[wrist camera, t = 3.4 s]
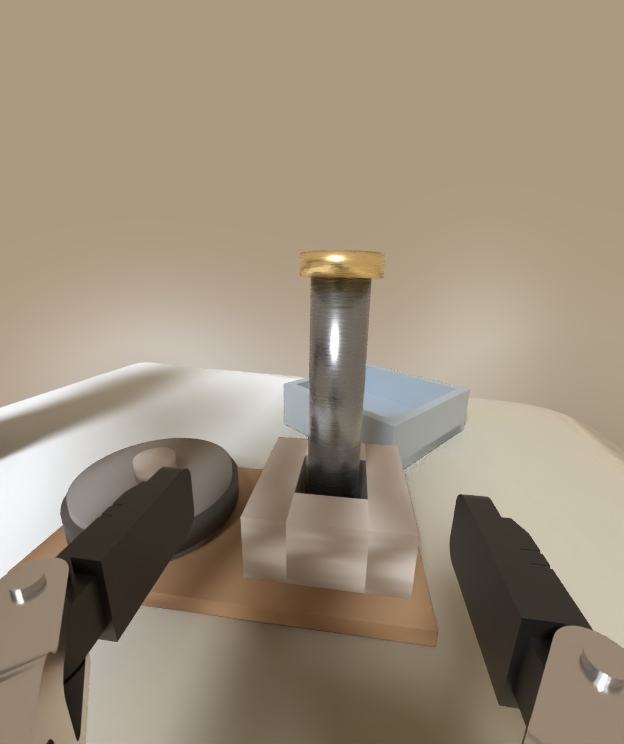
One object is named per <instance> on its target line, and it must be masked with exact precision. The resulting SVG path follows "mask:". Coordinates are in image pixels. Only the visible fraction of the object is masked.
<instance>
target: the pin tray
mask: <svg viewBox="0 0 624 744" xmlns="http://www.w3.org/2000/svg"><path fill="white" fill-rule="evenodd" d="M469 391H470V389H467V388H464V387H459V386H455V385H451V384H447V383H443V382H439V381H435V380H431V379H427V378H423V377H419V376H415V375H411V374H407V373H403V372H399V371H395V370H391V369H387V368H383V367H379V366H375V365H371V364H367V363H366V371H365V387H364V402H363V418H362V433H361V443H364V444H377V445H391V446H398V450H399V454H400V458H401V463H402V467H403V469H405V468H406V467H408V466H409V465H411V464H412V463H414V462H415V461H417V460H418V459H420V458H421V457H423V456H424V455H426V454H427V453H429V452H430V451H432V450H433V449H435V448H436V447H438V446H439V445H441V444H442V443H444V442H445V441H447V440H448V439H450V438H451V437H453V436H454V435H456V434H457V433H459V432H460V431H462V430H463V429H464V423H465V417H466V411H467V404H468V398H469ZM284 424H286V425H288V426H290V427H292V428H294V429H296V430H298V431H299V432H301V433H303V434H305V435H307V436H308V426H309V378H305V379H301V380H297V381H293V382H289V383H285V384H284Z"/></svg>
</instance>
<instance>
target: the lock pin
mask: <svg viewBox="0 0 624 744" xmlns="http://www.w3.org/2000/svg"><path fill="white" fill-rule="evenodd" d="M384 259H385V253H381V252H371V251H347V250H344V251H341V250H323V251H304V252H300V277H311V301H310V363H309V426H308V489H307V494H314V495H324V496H335V497H345V498H356V499H357V495H358V480H359V464H360V449H361V433H362V418H363V402H364V387H365V371H366V356H367V340H368V325H369V309H370V294H371V293H370V292H371V278H383V274H384V261H385V260H384Z"/></svg>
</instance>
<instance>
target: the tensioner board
mask: <svg viewBox="0 0 624 744" xmlns="http://www.w3.org/2000/svg"><path fill="white" fill-rule="evenodd" d="M164 466H166V467H177V468H187V469H189V471H190V473H191V480H192V491H193V501H194V519H193V523H192V526H191V529H190V531H189V533H188V534H187V536H186V537H185V539H184V540H183V542H182V543H181V545H180V546H179V548H178V550H177V551H176V553H175V554H174V556H173V557H172V559H171V560H170V562H169V563H168V565H167V566H166V568H165V569H164V571H163V573H162V574H161V576H160V577H159V579H158V580H157V582H156V583H155V585H154V586H153V588H152V589H151V591H150V592H149V594H148V595H147V597H146V599H145V600H144V602H143V603H142V605H145V606H152V607H159V608H166V609H173V610H180V611H187V612H194V613H201V614H208V615H215V616H222V617H229V618H237V619H244V620H251V621H258V622H265V623H272V624H279V625H286V626H293V627H300V628H307V629H314V630H321V631H328V632H335V633H342V634H349V635H356V636H363V637H370V638H377V639H384V640H391V641H398V642H405V643H412V644H419V645H426V646H433V647H435V646H436V640H437V634H438V630H437V625H436V621H435V617H434V612H433V608H432V604H431V599H430V595H429V591H428V586H427V582H426V578H425V573H424V569H423V565H422V560H421V556H420V552H419V547H418V543H419V532H418V528H417V524H416V520H415V516H414V512H413V508H412V503H411V499H410V495H409V491H408V487H407V483H406V479H405V475H404V471H403V467H402V463H401V458H400V454H399V450H398V446H391V445H377V444H364V443H361V449H360V464H359V480H358V495H357V499H356V498H345V497H335V496H324V495H314V494H307V489H308V439H298V438H285V437H279V438H278V440H277V442H276V444H275V446H274V448H273V450H272V452H271V455H270V457H269V459H268V461H267V463H266V465H265V467H264V469H263V470H261V469H249V468H238V467H237V465H236V463H235V461H234V460H233V459H232V458H231V457H230V456H229V454H228V453H227V452H226V451H225V450H224V449H223V448H222V447H220V446H218V445H216V444H214V443H212V442H208V441H205V440H199V439H191V438H172V439H162V440H155V441H150V442H145V443H141V444H138V445H134V446H131V447H128V448H125V449H122V450H120V451H117V452H115V453H112V454H110V455H108V456H106V457H104V458H102V459H100V460H99V461H97V462H95V463H94V464H92V465H91V466H89V467H88V468H87V469H85V470H84V471H83V472H82V473H81V474H80V475H79V476H78V477H77V478H76V479H75V480H74V481H73V483H72V484H71V486H70V488H69V490H68V493H67V494H66V496H65V498H64V499H63V502H62V505H61V512H60V514H61V519H62V523H63V526H62V527H60V528H59V529H58V530H57V531H56V532H55V533H53V534H52V535H51V536H50V537H49V538H47V539H46V540H45V541H44V542H43V543H42V544H40V545H39V546H38V547H37V548H36V549H34V550H33V551H32V552H31V553H30V554H29V555H27V556H26V557H25V558H24V559H23V560H22V561H20V562H19V563H18V564H17V565H16V566H14V567H13V568H12V569H11V570H10V571H9V572H11V571H13V570H14V569H16V568H18V567H20V566H22V565H24V564H26V563H29V562H32V561H34V560H38V559H42V558H50V557H54V558H55V557H56V556H57V555H58V554H59V553H60V552H61V551H62V550H63V549H64V548H66V547H67V546H68V545H69V544H70V543H71V542H72V541H73V540H74V539H75V538H76V537H77V536H78V535H79V534H80V533H82V532H83V531H84V530H85V529H86V528H87V527H88V526H89V525H90V524H91V523H92V522H93V521H94V520H95V519H97V518H98V517H101V515H102V513H103V512H104V511H105V510H106V509H107V508H108V507H109V506H112V505H113V503H114V502H115V501H116V500H117V499H118V498H119V497H120V496H121V495H122V494H123V493H124V492H125V491H127V490H129V489H130V488H132V487H134V486H136V485H138V484H139V483H141V482H143V481H145V482H147V481H148V480H149V479H150V478H151V477H152V476H153V475H154V474H155V473H156V472H157V471H158V470H159V469H160V468H161V467H164ZM9 572H8V573H9Z"/></svg>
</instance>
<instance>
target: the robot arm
mask: <svg viewBox="0 0 624 744" xmlns="http://www.w3.org/2000/svg"><path fill="white" fill-rule="evenodd" d="M193 519H194V501H193V491H192V480H191V473H190V471H189V469H187V468H177V467H166V466H164V467H161V468H160V469H159V470H158V471H157V472H156V473H155V474H154V475H153V476H152V477H151V478H150V479H149V480H148V481H147V482H145V481H143V482H141V483H139V484H138V485H136V486H134V487H132V488H130V489H129V490H127V491H125V492H124V493H123V494H122V495H121V496H120V497H119V498H118V499H117V500H116V501H115V502H114V503H113V505H112V506H109V507H108V508H107V509H106V510H105V511H104V512H103V513H102V515H101V517H98V518H97V519H95V520H94V521H93V522H92V523H91V524H90V525H89V526H88V527H87V528H86V529H85V530H84V531H83V532H82V533H80V534H79V535H78V536H77V537H76V538H75V539H74V540H73V541H72V542H71V543H70V544H69V545H68V546H67V547H66V548H64V549H63V550H62V551H61V552H60V553H59V554H58V555H57V556H56V557H55V558H54V557H50V558H42V559H38V560H34V561H32V562H29V563H26V564H24V565H22V566H20V567H18V568H16V569H14V570H13V571H11V572H9V573H8V574H6V575H5V576H4V577H2V578H1V579H0V744H86V729H87V710H88V692H89V674H90V655H89V651H90V650H91V649H92V647H93V646H94V644H95V643H96V641H97V640H98V639H102V640H108V641H114V642H117V641H118V640H119V638H120V637H121V635H122V634H123V632H124V631H125V629H126V628H127V626H128V625H129V623H130V622H131V620H132V618H133V617H134V615H135V614H136V612H137V611H138V609H139V608H140V606H141V605H142V603H143V602H144V600H145V599H146V597H147V595H148V594H149V592H150V591H151V589H152V588H153V586H154V585H155V583H156V582H157V580H158V579H159V577H160V576H161V574H162V573H163V571H164V569H165V568H166V566H167V565H168V563H169V562H170V560H171V559H172V557H173V556H174V554H175V553H176V551H177V550H178V548H179V546H180V545H181V543H182V542H183V540H184V539H185V537H186V536H187V534H188V533H189V531H190V529H191V526H192V523H193ZM450 555H451V561H452V565H453V568H454V571H455V574H456V577H457V580H458V583H459V586H460V589H461V592H462V595H463V598H464V601H465V604H466V607H467V610H468V613H469V616H470V619H471V622H472V625H473V628H474V631H475V634H476V637H477V640H478V643H479V646H480V649H481V652H482V655H483V658H484V661H485V664H486V667H487V670H488V673H489V676H490V679H491V682H492V685H493V688H494V691H495V694H496V697H497V700H498V703H499V705H500V706H506V707H512V708H518V709H520V711H521V714H522V717H523V719H524V722H525V725H526V730H525V733H524V736H523V740H522V743H521V744H624V648H622V647H621V646H619V645H618V644H617V643H615V642H614V641H612V640H611V639H609V638H607V637H606V636H604V635H602V634H600V633H598V632H595V631H593V629H592V628H591V626H590V625H589V623H588V622H587V620H586V619H585V617H584V616H583V614H582V613H581V611H580V610H579V608H578V607H577V605H576V604H575V602H574V601H573V599H572V598H571V596H570V595H569V593H568V592H567V590H566V589H565V587H564V586H563V584H562V583H561V581H560V580H559V578H558V577H557V575H556V574H555V572H554V571H553V569H550V565H549V563H548V562H547V560H546V559H545V557H544V556H543V554H540V550H539V548H538V547H537V545H536V544H535V542H534V541H533V539H532V538H531V536H530V535H529V533H528V532H526V531H525V530H524V529H523V528H522V527H520V526H519V525H518V524H517V523H516V522H515V521H513V520H512V519H511V518H503V517H501V516H500V514H499V512H498V511H497V509H496V507H495V506H494V504H493V502H492V501H491V499H490V498H489V497H484V496H473V495H462V494H460V495H458V497H457V500H456V505H455V511H454V518H453V524H452V530H451V536H450Z"/></svg>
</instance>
